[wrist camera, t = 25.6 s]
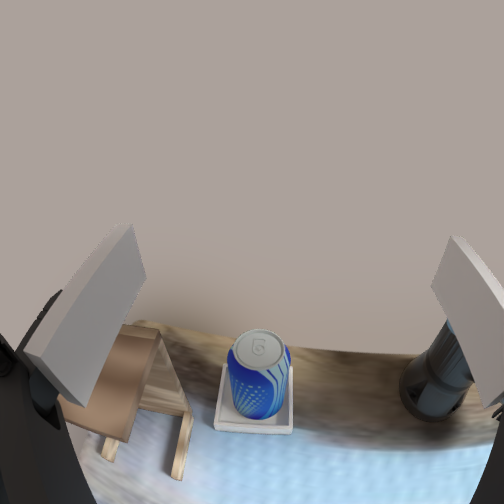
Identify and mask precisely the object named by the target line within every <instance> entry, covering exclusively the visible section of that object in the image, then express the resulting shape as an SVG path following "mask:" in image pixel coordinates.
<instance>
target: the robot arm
mask: <svg viewBox="0 0 504 504" xmlns="http://www.w3.org/2000/svg"><path fill="white" fill-rule="evenodd" d="M145 280H146V274H145V271H144V267H143V264H142V260H141V256H140V253H139V249H138V245H137V241H136V237H135V233H134V228H133V224H116V225H115V226H114V227H113V229H112V230H111V231H110V232H109V233H108V234H107V236H106V237H105V238H104V239H103V240H102V241H101V243H100V244H99V245H98V246H97V247H96V248H95V250H94V251H93V252H92V253H91V255H90V256H89V257H88V259H87V260H86V261H85V262H84V263H83V265H82V266H81V267H80V268H79V270H78V271H77V272H76V274H75V275H74V276H73V277H72V279H71V280H70V281H69V283H68V284H67V286H66V287H65V288H64V290H60V291H58V293H56V294H55V295H54V296H52V297H51V298H50V300H49V301H48V302H47V304H46V305H45V307H44V308H43V311H41V312H40V314H39V315H38V316H37V320H35V321H34V322H33V324H32V326H31V327H30V328H29V330H28V332H27V333H26V335H25V336H24V338H23V339H22V341H21V343H20V345H19V346H18V348H17V349H16V351H15V352H14V350H13V349H12V348H11V346H10V345H9V344H8V342H7V341H6V340H5V338H4V337H3V336H2V335H1V334H0V504H97V503H96V501H95V499H94V497H93V495H92V493H91V490H90V488H89V486H88V484H87V481H86V479H85V477H84V474H83V472H82V469H81V467H80V464H79V462H78V459H77V456H76V454H75V451H74V448H73V445H72V442H71V439H70V436H69V433H68V430H67V426H66V423H65V419H64V415H63V412H62V408H61V405H60V403H59V400H58V399H57V397H58V395H59V393H60V394H61V395H62V396H63V397H64V398H65V399H66V400H67V401H68V402H70V403H73V404H76V405H78V406H81V407H84V408H86V406H87V403H88V401H89V398H90V396H91V393H92V391H93V389H94V386H95V384H96V381H97V379H98V377H99V374H100V372H101V370H102V368H103V365H104V363H105V361H106V359H107V356H108V354H109V352H110V350H111V348H112V345H113V343H114V341H115V339H116V337H117V335H118V333H119V331H120V329H121V327H122V324H123V322H124V320H125V318H126V316H127V314H128V312H129V310H130V308H131V306H132V304H133V302H134V300H135V298H136V297H137V295H138V293H139V291H140V289H141V287H142V285H143V283H144V281H145ZM431 288H432V289H433V291H434V293H435V295H436V297H437V299H438V301H439V302H440V305H441V306H442V308H443V310H444V312H445V314H446V316H447V321H446V322H445V324H444V326H443V327H442V329H441V330H440V332H439V334H438V335H437V337H436V338H435V340H434V342H433V343H432V345H431V346H430V348H429V349H428V350H426V351H425V352H423V353H422V354H421V355H419V356H418V357H416V358H414V359H413V360H412V361H411V362H410V363H409V364H408V366H407V367H406V369H405V370H404V372H403V373H402V375H401V378H400V383H399V391H400V396H401V399H402V401H403V403H404V405H405V407H406V408H407V409H408V410H409V412H410V413H412V414H413V415H414V416H415V417H417V418H419V419H421V420H424V421H428V422H439V421H442V420H445V419H447V418H448V417H450V416H451V415H452V414H453V413H455V412H456V411H457V410H458V409H459V407H460V406H461V405H462V403H463V401H464V399H465V397H466V395H467V392H468V390H469V388H470V386H471V385H472V384H473V383H475V384H476V387H477V389H478V392H479V395H480V398H481V401H482V404H483V407H484V409H485V408H488V407H490V406H493V405H495V404H497V403H499V402H500V403H501V404H502V406H501V407H500V408H499V409H497V410H496V411H495V412H494V413H493V415H492V418H494V417H496V416H497V415H498V414H499V413H500V412H502V414H501V415H499V416H498V417H497V419H496V420H498V421H500V423H499V427H498V430H497V434H496V437H495V441H494V444H493V447H492V450H491V453H490V456H489V459H488V462H487V464H486V467H485V470H484V472H483V475H482V477H481V479H480V482H479V484H478V487H477V489H476V491H475V493H474V495H473V497H472V500H471V502H470V504H504V289H503V288H502V286H501V285H500V283H499V282H498V281H497V279H496V278H495V276H494V275H493V274H492V272H491V271H490V270H489V268H488V267H487V266H486V265H485V263H484V262H483V261H482V259H481V258H480V257H479V256H478V254H477V253H476V252H475V251H474V249H473V248H472V247H471V246H470V245H469V244H468V242H467V241H466V240H465V239H464V238H463V237H460V236H450V239H449V241H448V244H447V247H446V249H445V252H444V255H443V257H442V260H441V262H440V265H439V267H438V270H437V273H436V275H435V277H434V280H433V282H432V284H431Z"/></svg>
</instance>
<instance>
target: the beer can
mask: <svg viewBox="0 0 504 504" xmlns="http://www.w3.org/2000/svg"><path fill="white" fill-rule="evenodd" d="M290 362H291V358H290V353H289V350H288V349H287V347H286V345H285V344H284V342H283V341H282V339H281V338H280V337H279V336H278V335H277V334H275V333H274V332H272V331H269V330H265V329H253V330H249V331H246V332H245V333H243V334H242V335H240V336H239V337H238V338H237V339H236V341H235V343H234V344H233V345H232V347H231V348H230V350H229V352H228V356H227V364H228V371H229V378H230V384H231V391H232V398H233V403H234V406H235V408H236V410H237V411H238V412H239V413H240V414H241V415H243V416H244V417H246V418H249V419H253V420H264V419H267V418H270V417H272V416H274V415H275V414H276V413H277V412H278V411H279V410H280V409H281V407H282V404H283V400H284V395H285V390H286V385H287V379H288V374H289V368H290Z"/></svg>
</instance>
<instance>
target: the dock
mask: <svg viewBox="0 0 504 504" xmlns="http://www.w3.org/2000/svg"><path fill="white" fill-rule="evenodd" d="M57 399H58V400H59V403H60V405H61V408H62V412H63V415H64V419H65V421H66V422H69V423H71V424H74V425H76V426H79V427H81V428H84V429H86V430H89V431H92V432H94V433H97V434H100V435H103V436H106V440H105V443H104V447H103V450H102V453H101V457H103V458H104V459H106V460H108V461H110V462H114V459H115V455H116V452H117V448H118V445H119V442H120V441H121V442H125V443H128V440H129V436H130V433H131V430H132V426H133V423H134V420H135V416H136V413H137V410H138V408H140V409H144V410H149V411H153V412H158V413H163V414H169V415H174V416H180V417H183V421H182V425H181V430H180V435H179V439H178V444H177V449H176V453H175V458H174V463H173V468H172V473H171V477H172V478H173V479H175V480H179V481H182V478H183V472H184V467H185V462H186V456H187V451H188V446H189V441H190V436H191V431H192V426H193V421H194V418H193V416H192V409H191V406H190V404H189V402H188V400H187V398H186V396H185V393H184V391H183V389H182V386H181V384H180V382H179V379H178V377H177V375H176V372H175V370H174V367H173V365H172V363H171V360H170V358H169V355H168V352H167V350H166V347H165V345H164V342H163V339H162V337H161V334H160V331H159V329H154V328H146V327H139V326H132V325H125V324H122V327H121V329H120V331H119V333H118V335H117V337H116V339H115V341H114V343H113V345H112V348H111V350H110V352H109V354H108V356H107V359H106V361H105V363H104V365H103V368H102V370H101V372H100V374H99V377H98V379H97V381H96V384H95V386H94V389H93V391H92V393H91V396H90V398H89V401H88V403H87V406H86V408H84V407H81V406H78V405H76V404H73V403H70V402H68V401H67V400H66V399H65V398H64V397H63V396H62V395H61V394H60V393H59V395H58V397H57Z"/></svg>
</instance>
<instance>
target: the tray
mask: <svg viewBox="0 0 504 504" xmlns="http://www.w3.org/2000/svg"><path fill="white" fill-rule="evenodd" d="M214 427H215V430H216V431H225V432H236V433H250V434H272V435H291V433H292V430H293V368H292V367H290V368H289V374H288V379H287V385H286V390H285V395H284V400H283V404H282V407H281V409H280V410H279V411H278V412H277V413H276V414H275V415H274V416H272V417H270V418H267V419H264V420H253V419H249V418H246V417H244V416H243V415H241V414H240V413H239V412H238V411H237V410H236V408H235V406H234V403H233V398H232V391H231V384H230V378H229V371H228V364H223V370H222V376H221V382H220V388H219V394H218V400H217V406H216V413H215V419H214Z"/></svg>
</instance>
